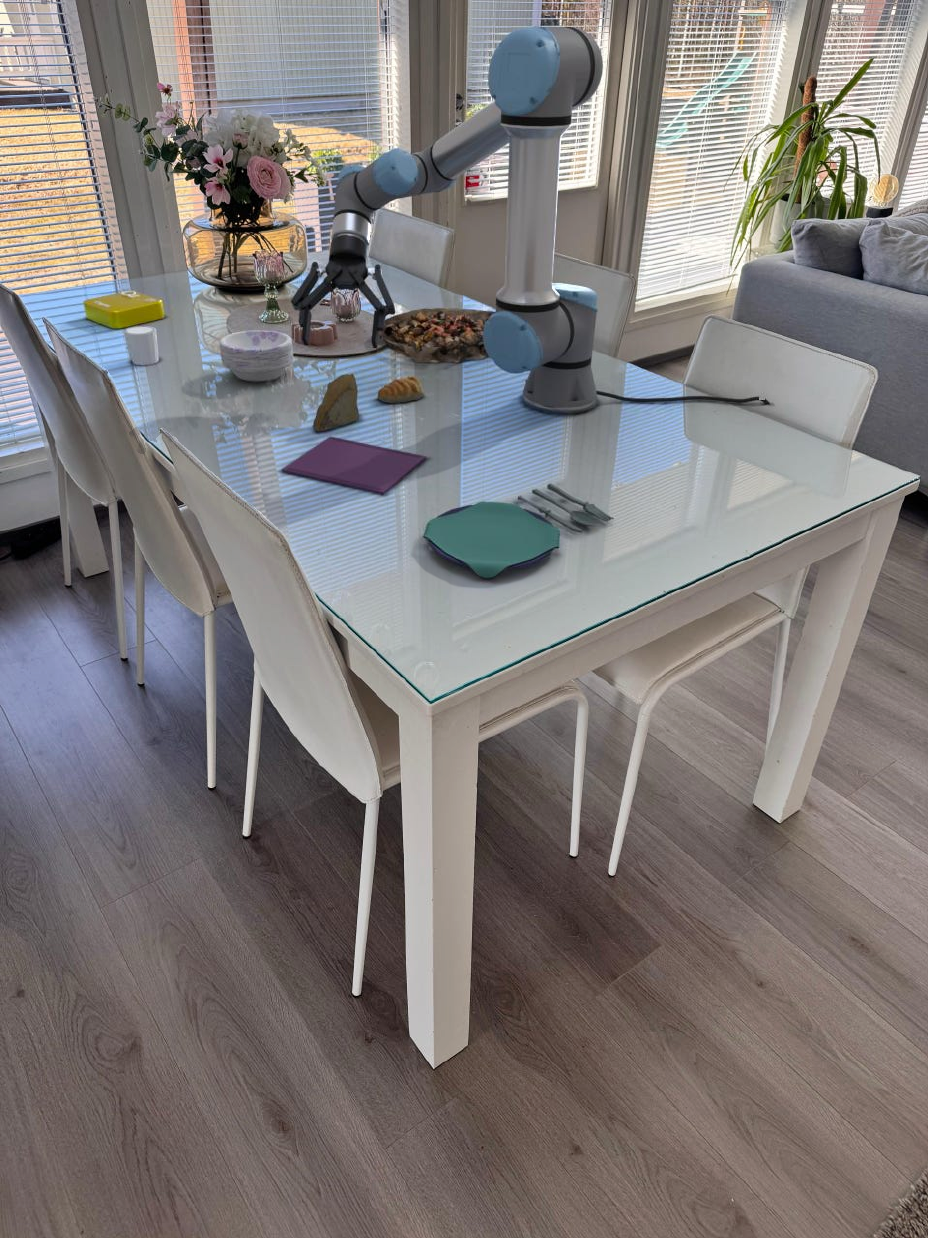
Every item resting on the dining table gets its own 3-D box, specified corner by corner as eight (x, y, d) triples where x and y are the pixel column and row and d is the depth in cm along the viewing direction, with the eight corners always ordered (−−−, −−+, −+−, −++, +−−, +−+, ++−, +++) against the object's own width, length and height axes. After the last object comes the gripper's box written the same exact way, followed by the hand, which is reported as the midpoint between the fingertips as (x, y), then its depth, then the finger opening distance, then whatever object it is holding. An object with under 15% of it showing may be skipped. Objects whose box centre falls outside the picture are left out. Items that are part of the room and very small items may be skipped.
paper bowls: (289, 361, 202) (285, 325, 198) (299, 383, 190) (296, 346, 186) (220, 366, 198) (215, 330, 194) (227, 390, 186) (222, 352, 182)
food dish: (467, 377, 198) (467, 343, 193) (349, 353, 212) (346, 320, 208) (540, 333, 222) (541, 301, 217) (430, 314, 236) (429, 283, 232)
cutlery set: (400, 538, 136) (399, 524, 135) (544, 486, 151) (545, 474, 150) (482, 594, 123) (483, 580, 122) (631, 532, 139) (632, 518, 137)
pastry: (389, 407, 180) (388, 389, 178) (370, 398, 184) (369, 380, 182) (426, 397, 185) (426, 379, 183) (407, 388, 189) (406, 371, 187)
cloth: (426, 458, 160) (426, 456, 160) (383, 494, 148) (383, 491, 148) (330, 438, 166) (330, 436, 166) (282, 471, 154) (281, 468, 154)
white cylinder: (123, 363, 199) (116, 331, 195) (143, 354, 204) (137, 323, 200) (148, 367, 197) (142, 335, 193) (167, 358, 202) (162, 327, 198)
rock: (315, 427, 165) (367, 414, 167) (302, 383, 165) (353, 370, 167) (313, 441, 175) (362, 429, 177) (301, 400, 175) (350, 388, 177)
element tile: (83, 317, 227) (79, 298, 224) (135, 306, 236) (131, 287, 234) (115, 330, 219) (111, 310, 216) (168, 317, 228) (165, 298, 226)
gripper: (414, 257, 179) (405, 355, 175) (292, 252, 181) (280, 349, 177) (410, 235, 172) (401, 336, 168) (283, 230, 173) (271, 330, 169)
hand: (339, 343), depth 172 cm, fingers open, 13 cm apart
